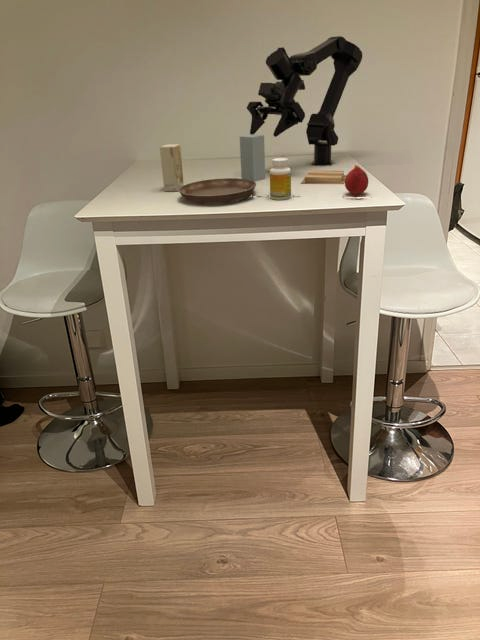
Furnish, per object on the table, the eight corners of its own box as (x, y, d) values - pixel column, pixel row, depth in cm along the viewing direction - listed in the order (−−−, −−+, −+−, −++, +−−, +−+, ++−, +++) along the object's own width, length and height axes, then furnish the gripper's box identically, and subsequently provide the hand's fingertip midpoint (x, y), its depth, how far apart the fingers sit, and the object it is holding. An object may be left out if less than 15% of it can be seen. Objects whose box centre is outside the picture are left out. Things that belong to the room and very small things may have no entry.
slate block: (253, 179, 159) (251, 134, 153) (265, 181, 156) (264, 135, 150) (241, 182, 156) (239, 136, 150) (253, 184, 153) (252, 137, 147)
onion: (367, 194, 134) (369, 162, 131) (367, 199, 129) (369, 166, 126) (344, 194, 136) (345, 162, 132) (343, 199, 131) (345, 166, 127)
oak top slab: (309, 175, 156) (309, 170, 155) (343, 175, 153) (343, 170, 153) (304, 182, 147) (304, 177, 146) (340, 183, 145) (341, 177, 144)
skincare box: (178, 191, 148) (174, 146, 143) (163, 191, 149) (158, 147, 144) (184, 186, 154) (180, 143, 149) (170, 186, 155) (166, 143, 149)
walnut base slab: (306, 180, 158) (306, 175, 157) (346, 180, 155) (347, 175, 154) (300, 189, 147) (300, 183, 147) (343, 189, 144) (343, 183, 144)
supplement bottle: (289, 200, 133) (289, 160, 128) (268, 200, 134) (267, 161, 129) (292, 195, 137) (292, 157, 133) (271, 195, 138) (271, 157, 134)
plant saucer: (173, 209, 131) (172, 195, 130) (185, 191, 150) (184, 179, 148) (255, 206, 130) (255, 192, 129) (257, 188, 149) (256, 176, 147)
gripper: (249, 72, 155) (225, 115, 153) (299, 70, 143) (273, 117, 141) (267, 98, 164) (244, 140, 161) (315, 99, 152) (291, 143, 149)
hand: (262, 135), depth 153 cm, fingers open, 9 cm apart
